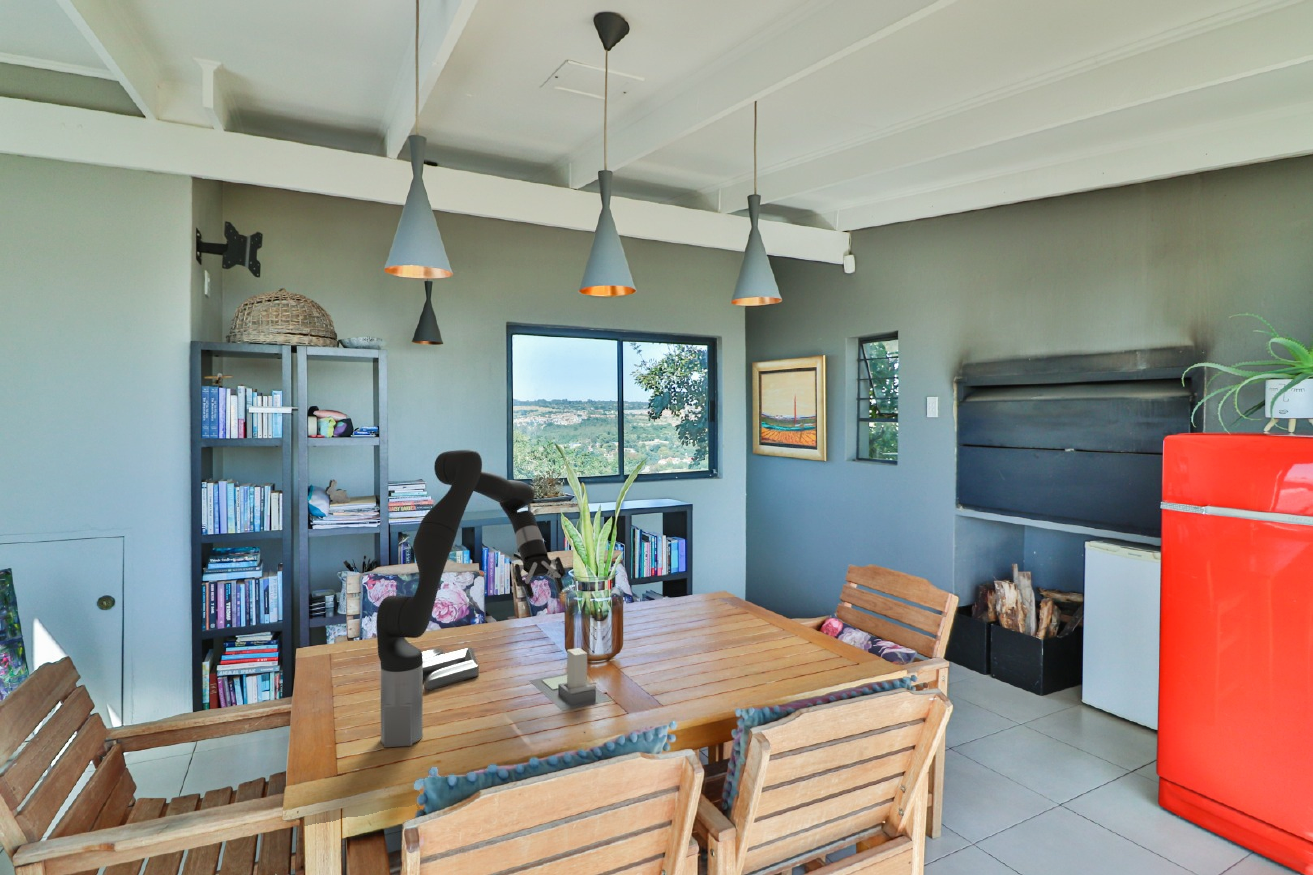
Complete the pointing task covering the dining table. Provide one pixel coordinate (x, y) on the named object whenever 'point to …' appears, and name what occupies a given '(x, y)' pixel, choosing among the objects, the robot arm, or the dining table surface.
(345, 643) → the dining table surface
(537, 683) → the grey socket base
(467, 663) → the emblem
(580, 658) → the cream rectangular block
